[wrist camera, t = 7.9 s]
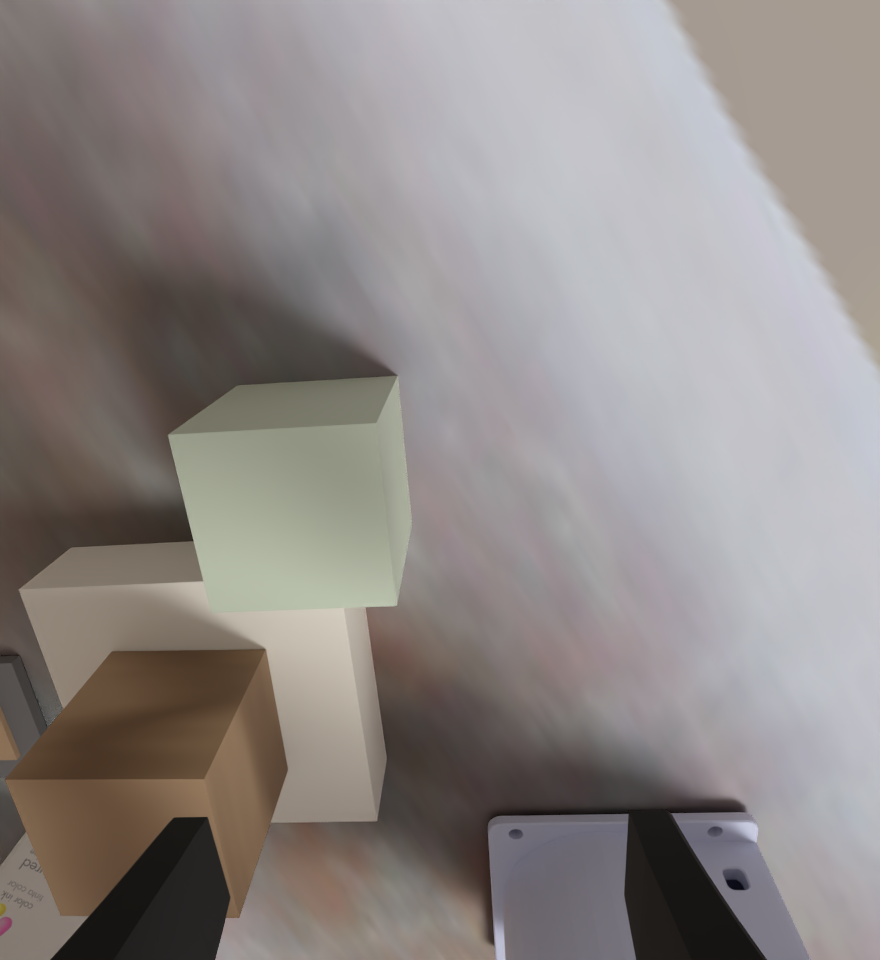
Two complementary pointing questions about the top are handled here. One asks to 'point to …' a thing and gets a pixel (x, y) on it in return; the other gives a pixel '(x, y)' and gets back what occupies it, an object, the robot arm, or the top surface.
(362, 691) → the base block
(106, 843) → the walnut block
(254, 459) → the sage block
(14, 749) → the tile
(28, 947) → the ink cartridge box
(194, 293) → the top surface
